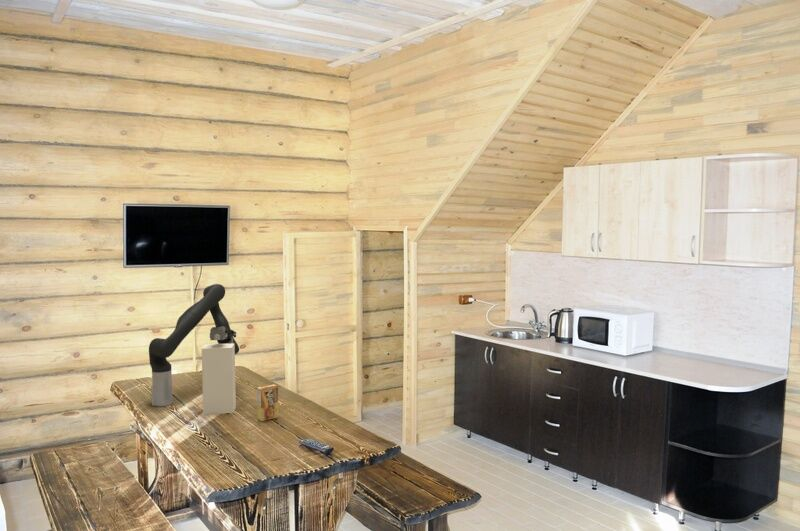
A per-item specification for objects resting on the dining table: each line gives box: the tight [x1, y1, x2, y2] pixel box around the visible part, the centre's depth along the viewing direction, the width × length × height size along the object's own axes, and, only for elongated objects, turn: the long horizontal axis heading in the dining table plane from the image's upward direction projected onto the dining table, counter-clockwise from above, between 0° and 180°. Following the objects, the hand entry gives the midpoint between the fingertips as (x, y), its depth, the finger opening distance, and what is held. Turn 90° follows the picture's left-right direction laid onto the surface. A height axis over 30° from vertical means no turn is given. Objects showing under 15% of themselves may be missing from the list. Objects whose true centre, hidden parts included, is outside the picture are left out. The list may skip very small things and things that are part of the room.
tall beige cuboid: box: [201, 343, 237, 415], centre depth 306 cm, size 14×10×32 cm
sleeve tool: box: [209, 326, 225, 341], centre depth 310 cm, size 6×19×5 cm, turn 8°
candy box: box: [256, 384, 279, 422], centre depth 296 cm, size 9×4×15 cm, turn 129°
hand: (220, 329), depth 313 cm, fingers closed on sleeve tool, 3 cm apart
